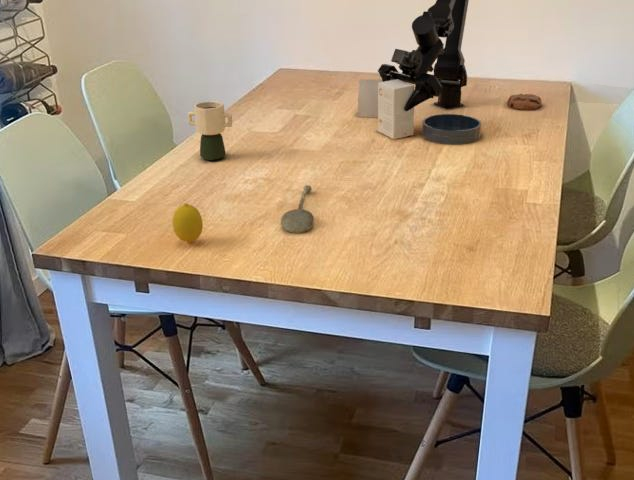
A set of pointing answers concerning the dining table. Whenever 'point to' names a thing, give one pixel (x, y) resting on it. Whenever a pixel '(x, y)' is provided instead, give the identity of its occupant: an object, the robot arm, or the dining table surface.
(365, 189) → the dining table surface
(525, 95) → the cookie
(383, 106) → the small box
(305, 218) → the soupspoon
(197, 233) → the lemon
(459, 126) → the dish
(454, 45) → the robot arm
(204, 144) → the character mug
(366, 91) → the grey rectangular block
